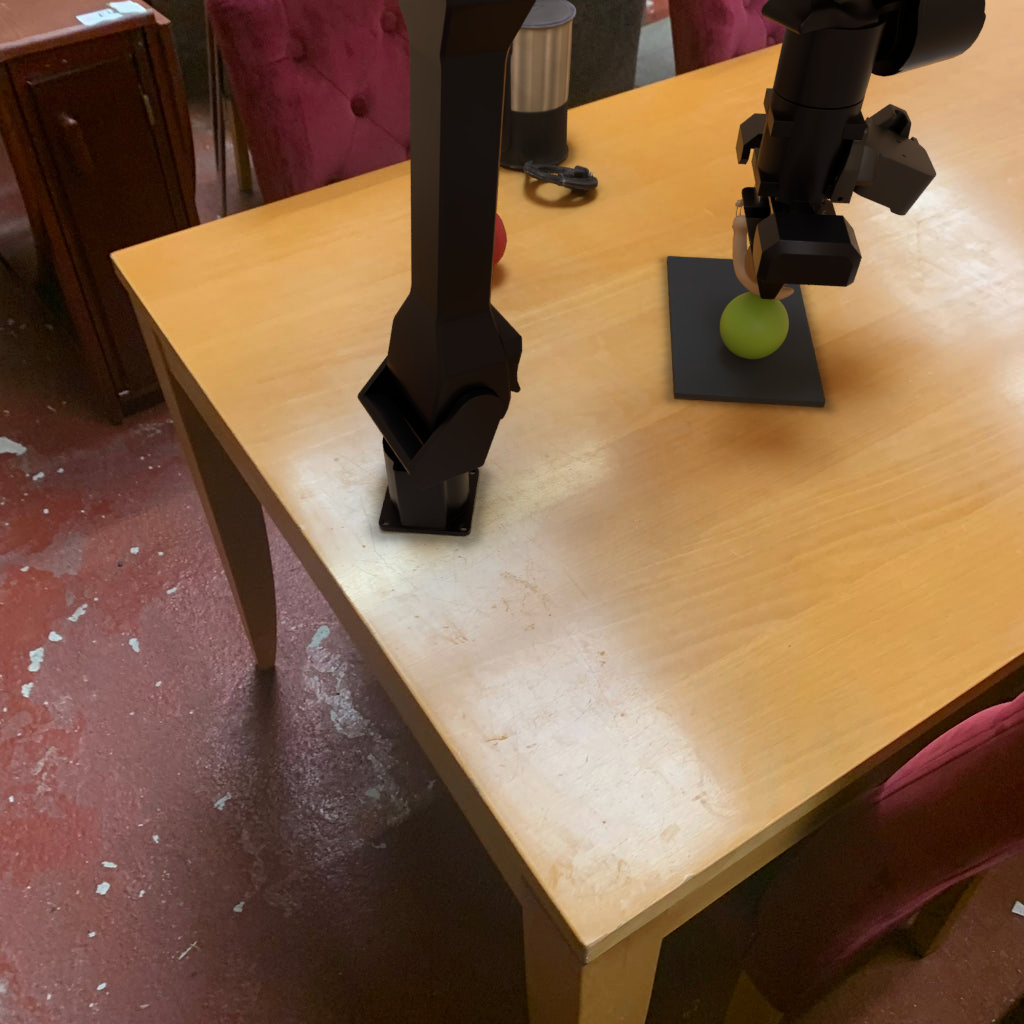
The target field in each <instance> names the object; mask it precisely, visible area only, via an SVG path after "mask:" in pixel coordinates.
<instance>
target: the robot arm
mask: <svg viewBox="0 0 1024 1024" xmlns="http://www.w3.org/2000/svg"><path fill="white" fill-rule="evenodd" d="M397 2H398V6H399V8H400V12H401V14H402V17H403V21H404V25H405V27H406V31H407V36H408V41H409V152H410V153H409V154H410V155H409V156H410V157H409V158H410V159H409V160H410V162H409V163H410V167H409V169H410V274H411V275H410V290H409V293H408V295H407V296H406V298H405V300H404V301H403V302H402V304H401V306H400V307H399V309H398V310H397V312H396V314H395V315H394V317H393V319H392V325H391V329H390V337H389V344H388V349H387V355H386V357H385V358H384V359H382V360H383V361H382V362H381V363H380V365H378V366H377V368H376V370H375V371H374V372H373V373H372V375H371V376H370V377H369V379H368V380H367V381H366V383H365V384H364V385H363V387H362V388H361V390H360V391H359V392H358V393H357V400H358V401H359V402H360V404H361V405H362V407H363V408H364V410H365V411H366V413H367V414H368V416H369V417H370V419H371V421H372V422H373V423H374V425H375V426H376V428H377V429H378V431H379V433H380V434H381V435H382V441H381V444H382V450H383V458H384V465H385V471H386V478H387V486H386V489H385V493H384V497H383V501H382V506H381V510H380V514H379V518H378V529H379V530H381V531H382V532H390V533H404V534H405V533H406V534H419V535H435V536H449V537H461V538H462V537H464V538H465V537H467V536H470V534H471V531H472V525H473V518H474V512H475V507H476V506H475V505H476V499H477V493H478V486H479V481H480V469H479V468H482V467H483V466H484V465H485V463H486V460H487V458H488V454H489V452H490V449H491V446H492V444H493V442H494V438H495V435H496V433H497V430H498V428H499V425H500V422H501V420H503V419H504V418H505V416H506V414H507V412H508V410H509V409H510V408H509V407H510V404H511V399H512V393H517V394H518V393H520V392H521V390H522V389H521V386H520V383H519V380H518V370H519V365H520V361H521V358H522V354H523V337H522V335H521V334H520V333H519V331H518V330H516V329H515V327H514V326H513V325H512V324H511V323H510V322H509V321H508V320H507V319H506V318H505V316H504V315H502V313H501V312H500V311H499V310H498V309H497V308H496V307H495V306H494V305H493V304H492V302H491V301H492V289H493V288H492V286H493V271H494V267H493V258H494V243H495V228H496V213H497V214H498V212H497V211H498V198H499V183H500V167H501V164H500V154H501V139H502V124H503V109H504V94H505V79H506V64H507V57H508V52H509V48H510V46H511V44H512V42H513V40H514V39H515V37H516V35H517V33H518V32H519V30H520V28H521V26H522V25H523V23H524V21H525V19H526V18H527V16H528V14H529V12H530V11H531V9H532V7H533V6H534V4H535V2H536V0H397ZM985 11H986V0H767V1H766V2H764V4H763V5H762V6H761V11H760V13H761V15H762V16H763V17H764V18H765V19H768V20H770V21H772V22H774V23H776V24H778V25H780V26H782V27H783V28H784V33H783V38H782V43H781V47H780V52H779V57H778V61H777V66H776V72H775V76H774V80H773V85H772V88H771V87H766V89H765V93H764V98H763V107H764V113H760V112H759V113H758V112H757V113H756V112H755V113H753V114H752V115H750V116H749V117H748V118H746V119H745V120H744V121H743V122H741V123H740V124H739V128H738V134H737V139H736V143H735V153H736V154H735V155H736V159H737V164H738V165H747V163H748V161H749V160H750V155H751V151H752V150H753V151H752V156H751V167H752V174H753V180H754V184H753V185H754V186H745V187H743V188H742V189H741V191H740V193H741V199H742V201H743V206H742V208H743V212H744V215H745V218H746V226H747V232H748V233H747V240H748V243H749V246H750V248H751V253H752V258H753V263H754V268H755V273H756V278H757V283H758V289H759V294H760V298H761V299H775V298H776V296H777V295H778V293H779V292H780V290H781V289H782V287H783V286H784V284H798V285H800V286H803V285H804V286H819V287H820V286H821V287H839V288H841V287H842V288H847V287H849V286H850V285H852V284H853V283H854V282H855V280H856V277H857V274H858V270H859V269H860V265H861V262H862V258H863V255H862V253H861V249H860V246H859V243H858V239H857V236H856V233H855V230H854V228H853V227H852V225H851V224H850V222H849V221H848V220H847V219H846V218H845V216H844V215H842V214H837V212H836V209H835V205H834V204H847V205H849V204H851V201H852V197H853V194H856V195H858V196H859V197H861V198H864V199H867V200H869V201H870V202H873V203H875V204H878V205H880V206H883V207H885V208H888V209H889V211H890V213H892V214H894V215H897V216H902V217H903V216H906V215H907V214H908V212H909V211H910V210H911V209H912V207H913V206H914V204H916V202H917V201H918V200H919V198H920V197H921V196H922V194H924V192H925V191H926V190H927V188H928V187H929V185H930V184H931V183H932V181H933V180H934V179H935V178H936V176H937V171H936V168H935V167H934V165H933V163H932V160H931V158H930V156H929V154H928V152H927V150H926V149H925V147H923V146H922V144H920V143H919V140H918V138H917V137H914V136H911V137H910V133H911V128H912V121H911V118H910V116H909V114H908V112H907V110H905V109H903V108H901V107H899V106H897V105H894V104H892V103H889V104H887V105H886V106H884V107H882V108H881V109H880V110H878V111H877V112H875V113H874V114H872V115H871V116H870V117H869V116H866V118H865V117H864V115H863V112H862V109H863V104H864V102H865V101H864V100H865V99H866V98H865V97H866V94H867V90H868V87H869V83H870V80H871V77H872V75H873V76H878V77H884V78H885V77H891V76H896V75H899V74H902V73H907V72H909V71H914V70H917V69H920V68H922V67H923V68H924V67H926V66H927V67H928V66H930V65H933V64H938V63H941V62H944V61H949V60H951V59H954V58H957V57H958V56H961V55H963V54H964V53H965V52H967V51H968V50H969V49H970V48H971V47H972V46H973V45H974V43H975V42H976V41H977V40H978V38H979V36H980V34H981V32H982V30H983V28H984V26H985V23H986V19H987V14H986V12H985Z"/></svg>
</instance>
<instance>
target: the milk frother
mask: <svg viewBox="0 0 1024 1024" xmlns="http://www.w3.org/2000/svg"><path fill="white" fill-rule="evenodd" d="M576 15H577V8H576V7H575V5H574V4H572V3H571V2H570V1H569V0H536V2H535V4H534V6H533V7H532V9H531V11H530V12H529V14H528V16H527V18H526V19H525V21H524V23H523V25H522V26H521V28H520V30H519V32H518V33H517V35H516V37H515V39H514V40H513V42H512V44H511V46H510V48H509V52H508V57H507V64H506V79H505V94H504V109H503V124H502V139H501V154H500V166H503V167H507V168H510V169H515V170H523V173H525V174H526V175H528V176H529V177H530V178H532V179H535V180H537V181H540V182H545V183H549V184H553V185H556V186H558V187H563V188H565V189H568V190H571V191H572V192H575V193H578V194H585V192H586V190H588V191H589V190H595V189H597V187H598V185H599V180H598V178H597V177H596V176H595V175H594V172H593V171H590V170H589V168H588V167H585V166H583V165H579V164H577V165H575V166H574V167H570V166H569V167H568V166H562V165H558V164H560V163H561V162H562V161H564V160H565V159H566V158H568V154H569V150H570V148H569V145H568V111H569V93H570V92H569V91H570V77H571V60H572V58H571V57H572V43H573V41H572V39H573V21H574V19H575V17H576Z"/></svg>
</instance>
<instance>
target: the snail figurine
mask: <svg viewBox="0 0 1024 1024" xmlns="http://www.w3.org/2000/svg"><path fill="white" fill-rule="evenodd" d="M734 205H735V207H736V211H735V217H734V218H733V220H732V225H731V226H732V227H731V228H732V231H733V232H732V233H733V235H732V259H733V265H734V270H735V273H736V276H737V278H738V280H739V281H740V282H741V283H742V284H743V285H744V286H745V287H746V288H747V289H748V290H749V291H750V292H747V293H744V294H741V295H739V296H737V297H736V298H734V299H733V300H732V301H731V302H730V303H729V304H728V305H727V307H726V308H725V310H724V311H723V314H722V316H721V320H720V334H721V338H722V340H723V342H724V344H725V346H726V347H727V348H728V349H729V350H730V351H731V352H732V353H734V354H735V355H737V356H739V357H742V358H745V359H760V358H763V357H766V356H768V355H770V354H772V353H773V352H775V351H776V350H777V349H778V348H779V347H780V346H781V345H782V343H783V342H784V340H785V338H786V336H787V333H788V328H789V319H788V314H787V311H786V309H785V307H784V306H783V304H782V303H781V302H780V301H779V300H781V299H784V298H786V297H788V296H790V295H791V294H792V293H793V292H794V290H793V289H792V288H788V287H784V286H785V285H787V284H784V286H783V287H782V289H781V290H780V292H779V293H778V295H777V296H776V298H775V299H761V298H760V294H759V289H758V283H757V278H756V273H755V268H754V263H753V258H752V253H751V248H750V245H749V246H748V232H747V226H746V218H745V214H742V208H743V201H742V198H741V199H738V200H736V202H735V204H734ZM739 208H740V209H739ZM738 209H739V214H738Z"/></svg>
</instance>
